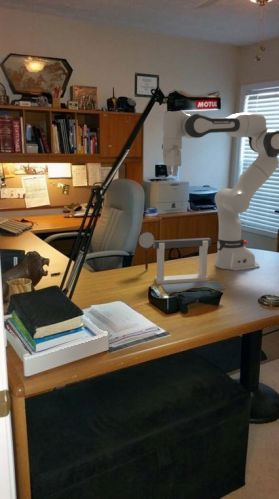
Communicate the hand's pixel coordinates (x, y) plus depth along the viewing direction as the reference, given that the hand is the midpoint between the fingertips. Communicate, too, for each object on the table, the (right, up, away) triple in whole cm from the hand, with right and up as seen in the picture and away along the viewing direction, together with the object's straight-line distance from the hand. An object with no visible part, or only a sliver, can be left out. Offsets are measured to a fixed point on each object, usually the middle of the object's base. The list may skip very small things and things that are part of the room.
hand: (172, 175), depth 190 cm
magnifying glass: (-12, -46, +10) cm, 48 cm away
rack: (+4, -49, -5) cm, 49 cm away
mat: (+8, -51, -15) cm, 54 cm away
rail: (+4, -33, -9) cm, 35 cm away
